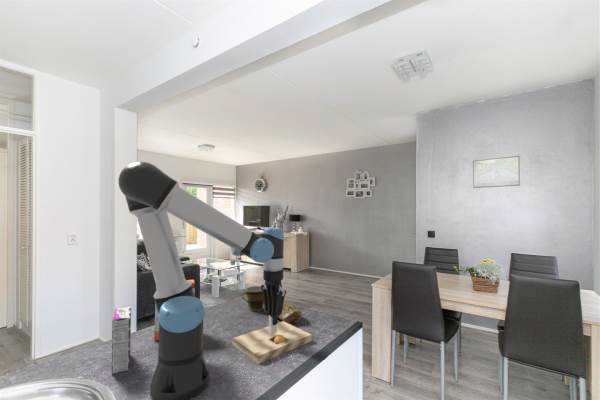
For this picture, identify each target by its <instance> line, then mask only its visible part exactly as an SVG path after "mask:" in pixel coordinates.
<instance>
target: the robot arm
mask: <svg viewBox="0 0 600 400" xmlns="http://www.w3.org/2000/svg"><path fill="white" fill-rule="evenodd" d="M118 187H119V190H120V192H121V193H122V194H123V195H124V197H125V200H126V204H127V207H128V211H129V213H130V214H131V215H134V216H135V217H136V218H137V222H138V225H139V229H140V233H141V236H142V239H143V240H142V241H143V243H144V247H145V250H146V255H147V258H148V261H149V265H150V270H151V272H152V274H153V279H154V281H155V288H156V287H157V291H156V290H155V292H154V294H153V299H154V303H155V304H156V307H157V311H158V315H159V316H158V319H159V340H158V353H157V354H158V357H157V358H158V359H157V360H158V361H157V365H156V368H155V370H154V374H153V376H152V379H151V383H150V388H149V390H150V392H149V393H150V398H151V399H153V400H191V399H194V398H196V397H197V396H199V395H201V393H203V392H204V391H205V390H206V388H207V387H208V386H209V383H210V382H209V381H210V380H209V379H210V374H209V369H208V366H207V363H206V360H205V357H204V352H203V351H204V317H205V309H204V304H203V301H202V300H201V299H200V298H198V297H196V295H195V294H194V291H193V287H192V283H191V282H189V281H187V279H186V277H185V274H184V270H183V266H182V261H181V258H180V254H179V252H178V246H177V244H176V240H175V236H174V233H173V229H172V226H171V222H170V218H169V214H171V215H173V216H174V217H176V218H178V219H180V220H182V222H184V223H187V224H189V225H190V226H192V227H195V229H198V230H199V231H201V232H204V233H205V234H207V235H208V236H210V237H212V238H214V239H215V240H217V241H220V242H221V243H223V244H225V245H226V246H228V247H230V250H231V254H232V255H233V256H238V257H239V256H240V257H241V256H246V257H247V258H249V259H251V260H252V261H254V262H256V263H260V264H263V265H262V267H263V273H262V275H263V277H262V278H263V281H264V284H261V285H260V286H261V289H262V293H263V301H264V303H263V311H264V310H265V311H264V312H265V313H266V311H267V313H266V314H267V321H268V326H269V333H270V334H273V333H276V332H277V323H278V321H279V320H278V319H279V318H278V315H281V314H282V309H283V303H284V302H285V296H286V294H287V290H284V289H283V285H282V284H283V283H282V280H283V279H284V246H285V243H284V241H285V237H284V236H285V233H284V229H283V228H280V227H266V228H264V230H263V232H262V233H256V232H254V231H252V230H251V229H249V228H247V227H246V226H245V225H242V224H241V223H239V222H237V221H236V220H234V219H232V218H231V217H229V216H228V215H226V214H224V213H223V212H221V211H219V210H218V209H217V208H214V207H212V206H211V205H209V204H208V203H206V202H204V201H202V200H201V199H199V198H198V197H196V196H194V195H193V194H191V193H190V192H188V191H186V190H184V189H183V188H182V187H180V183H179V182H178V181H177V180H175V179H173V178H172V177H170V176H169V175H168V174H166V173H165V172H164V171H162V170H161V169H160V168H159V167H157V165H155V164H152V163H150V162H147V161H136V162H131V163H129V164H128V165H126V166H125V167H124V168H123V169H122V170H121V171H120V174H119V175H118ZM155 304H154V305H155Z"/></svg>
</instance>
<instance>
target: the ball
mask: <svg viewBox="0 0 600 400" xmlns="http://www.w3.org/2000/svg"><path fill="white" fill-rule="evenodd" d="M282 342H285V338H284V337H283V336H281V335H278V336H276V337H275V339H274V343H275V344H280V343H282Z"/></svg>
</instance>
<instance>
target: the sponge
mask: <svg viewBox="0 0 600 400" xmlns="http://www.w3.org/2000/svg"><path fill="white" fill-rule="evenodd" d="M263 311H264V312H265V310H264V309H263ZM265 313H266V314H267V311H266V312H265ZM302 316H303V314H302V312H301V310H300V309H299V308H298V307H297V306H295V305H294V304H291V303H288V302H286V301H284V303H283V309H282V314H281V315H278V319H280V320H281V322H282V321H284V322H286V323H288V324H292V323H294V324H297V323H299V322H300V321H301V318H302Z"/></svg>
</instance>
